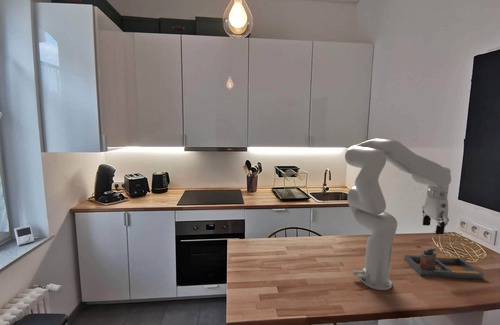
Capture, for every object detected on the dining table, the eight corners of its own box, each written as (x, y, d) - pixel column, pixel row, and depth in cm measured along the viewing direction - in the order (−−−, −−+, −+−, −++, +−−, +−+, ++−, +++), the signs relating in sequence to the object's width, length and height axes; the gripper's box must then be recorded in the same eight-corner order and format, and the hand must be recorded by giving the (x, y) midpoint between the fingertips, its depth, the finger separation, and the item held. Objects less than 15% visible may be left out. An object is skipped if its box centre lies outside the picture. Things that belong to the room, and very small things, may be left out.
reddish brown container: (423, 271, 120) (426, 251, 118) (417, 267, 123) (419, 247, 121) (436, 268, 122) (439, 249, 120) (430, 265, 125) (432, 245, 124)
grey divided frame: (420, 276, 116) (421, 270, 116) (404, 259, 130) (404, 254, 129) (482, 279, 114) (483, 273, 114) (459, 262, 128) (459, 257, 128)
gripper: (459, 199, 108) (454, 238, 111) (433, 189, 125) (429, 222, 128) (441, 199, 108) (436, 237, 111) (417, 188, 125) (413, 221, 128)
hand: (432, 229), depth 119 cm, fingers open, 9 cm apart
